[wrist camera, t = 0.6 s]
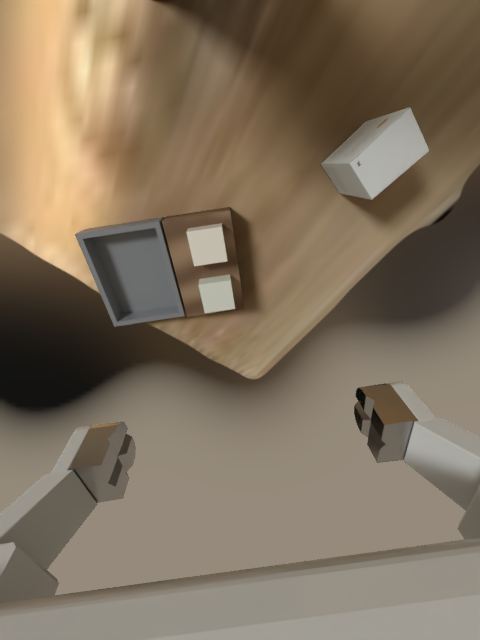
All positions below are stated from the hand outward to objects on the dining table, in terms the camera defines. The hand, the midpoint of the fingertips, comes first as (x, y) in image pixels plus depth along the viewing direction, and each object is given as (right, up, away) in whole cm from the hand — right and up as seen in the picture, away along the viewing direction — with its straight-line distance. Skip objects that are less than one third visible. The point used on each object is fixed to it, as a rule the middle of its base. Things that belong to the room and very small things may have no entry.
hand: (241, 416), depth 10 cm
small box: (+17, +27, +31) cm, 45 cm away
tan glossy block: (-6, +13, +37) cm, 40 cm away
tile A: (-5, +15, +32) cm, 36 cm away
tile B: (-4, +8, +36) cm, 37 cm away
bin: (-17, +12, +37) cm, 43 cm away
